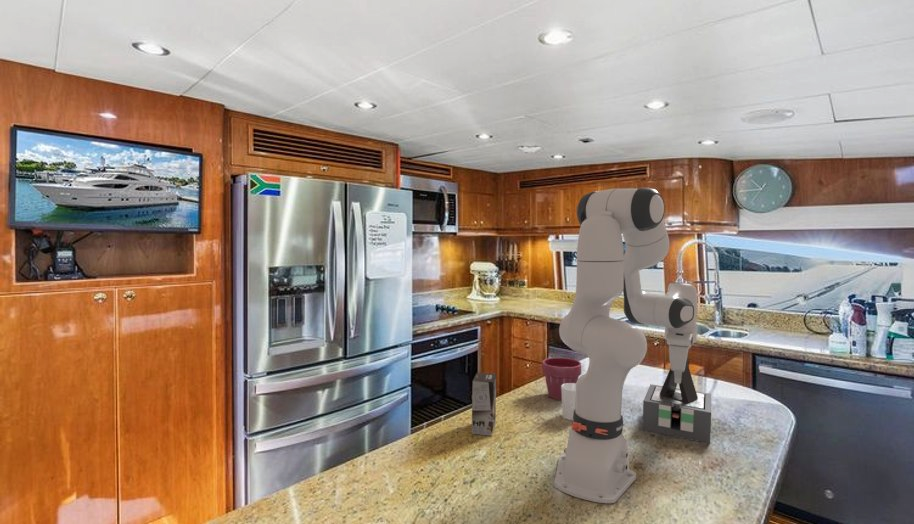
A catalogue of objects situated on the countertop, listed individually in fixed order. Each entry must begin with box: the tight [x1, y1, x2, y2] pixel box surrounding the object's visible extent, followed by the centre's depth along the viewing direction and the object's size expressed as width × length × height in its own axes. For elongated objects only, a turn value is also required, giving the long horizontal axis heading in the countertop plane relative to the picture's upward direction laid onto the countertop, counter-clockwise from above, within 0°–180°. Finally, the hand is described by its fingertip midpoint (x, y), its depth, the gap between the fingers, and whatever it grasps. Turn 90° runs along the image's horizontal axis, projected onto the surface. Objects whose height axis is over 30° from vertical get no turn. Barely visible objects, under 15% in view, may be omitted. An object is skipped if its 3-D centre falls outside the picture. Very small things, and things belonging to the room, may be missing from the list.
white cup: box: [561, 383, 576, 422], centre depth 147 cm, size 8×8×10 cm
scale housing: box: [642, 383, 712, 444], centre depth 141 cm, size 18×18×9 cm
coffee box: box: [471, 372, 497, 437], centre depth 137 cm, size 9×6×16 cm
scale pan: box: [651, 387, 704, 411], centre depth 139 cm, size 17×14×1 cm
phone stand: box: [660, 358, 698, 403], centre depth 140 cm, size 9×6×12 cm, turn 36°
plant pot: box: [541, 357, 582, 401], centre depth 166 cm, size 14×14×13 cm
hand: (678, 378), depth 140 cm, fingers open, 8 cm apart
